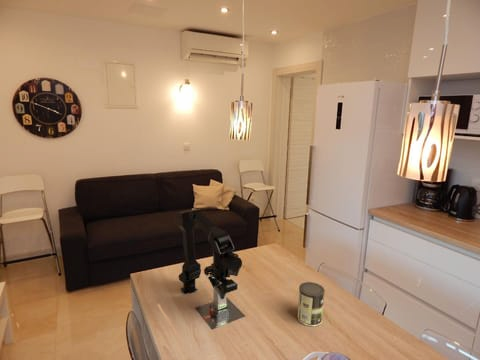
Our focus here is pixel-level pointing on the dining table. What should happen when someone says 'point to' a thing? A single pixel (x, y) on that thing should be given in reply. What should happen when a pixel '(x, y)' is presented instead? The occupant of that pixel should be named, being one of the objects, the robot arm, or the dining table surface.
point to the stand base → (219, 314)
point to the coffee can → (310, 304)
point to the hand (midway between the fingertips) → (219, 296)
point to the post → (219, 299)
